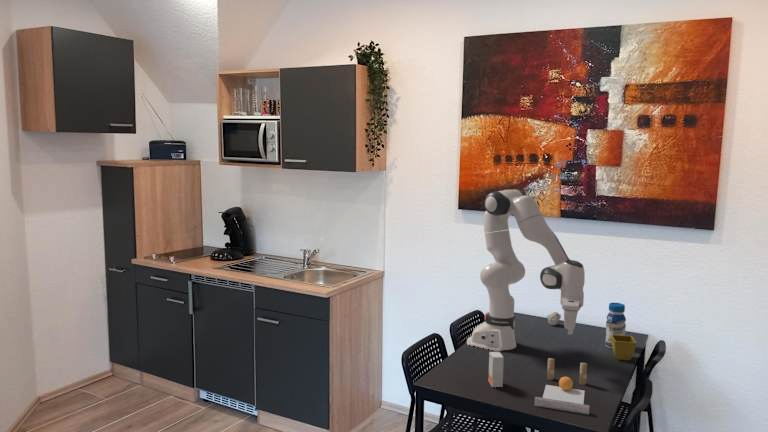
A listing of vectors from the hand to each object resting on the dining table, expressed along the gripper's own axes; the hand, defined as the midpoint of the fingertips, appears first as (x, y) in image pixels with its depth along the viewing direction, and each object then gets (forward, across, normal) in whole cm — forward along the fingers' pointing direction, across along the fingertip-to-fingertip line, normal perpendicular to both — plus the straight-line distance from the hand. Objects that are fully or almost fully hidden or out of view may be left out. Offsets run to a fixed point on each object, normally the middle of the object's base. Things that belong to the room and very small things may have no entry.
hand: (570, 333), depth 232 cm
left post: (+15, +13, -6) cm, 21 cm away
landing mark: (+15, +27, 0) cm, 31 cm away
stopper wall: (+15, +39, 0) cm, 42 cm away
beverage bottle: (+15, -38, +18) cm, 45 cm away
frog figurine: (+15, -61, -11) cm, 64 cm away
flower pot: (+15, -23, +21) cm, 35 cm away
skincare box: (+15, +27, -25) cm, 40 cm away
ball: (+13, +22, 0) cm, 25 cm away
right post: (+15, +13, +6) cm, 21 cm away
